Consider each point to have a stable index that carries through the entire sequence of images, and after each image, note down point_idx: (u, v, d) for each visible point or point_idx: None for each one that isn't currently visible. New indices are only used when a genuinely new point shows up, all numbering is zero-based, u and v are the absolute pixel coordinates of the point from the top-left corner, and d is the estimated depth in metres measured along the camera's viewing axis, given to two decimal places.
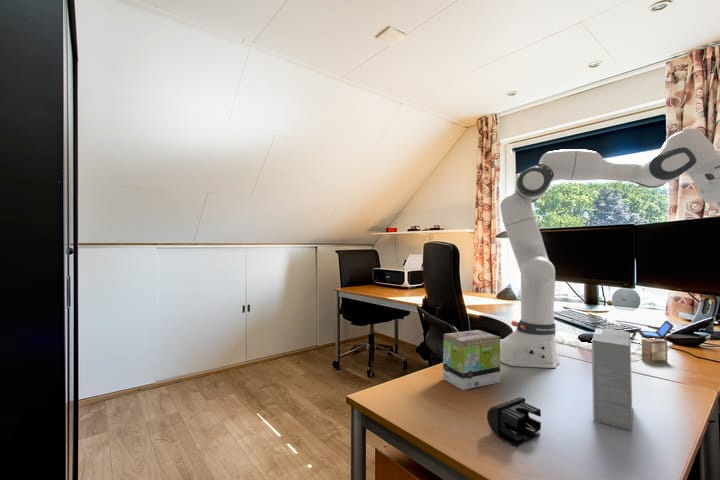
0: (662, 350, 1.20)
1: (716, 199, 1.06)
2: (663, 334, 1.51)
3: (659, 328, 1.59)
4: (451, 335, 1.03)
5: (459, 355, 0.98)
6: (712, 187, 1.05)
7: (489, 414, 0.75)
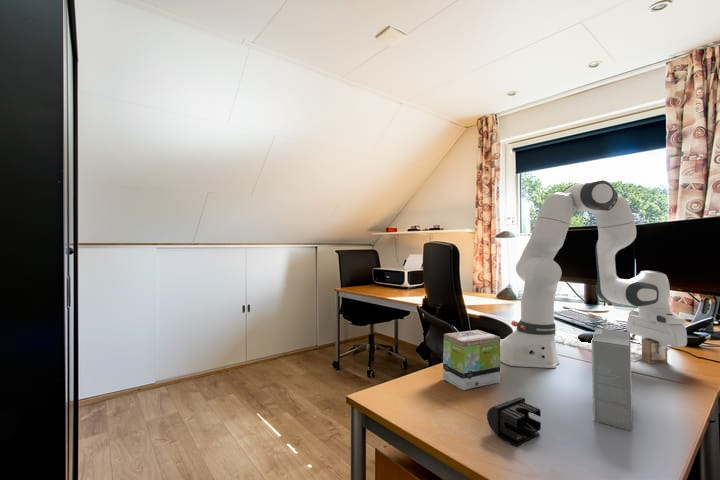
0: None
1: (643, 334, 1.25)
2: None
3: None
4: (451, 335, 1.03)
5: (459, 355, 0.98)
6: (648, 325, 1.23)
7: (489, 414, 0.75)
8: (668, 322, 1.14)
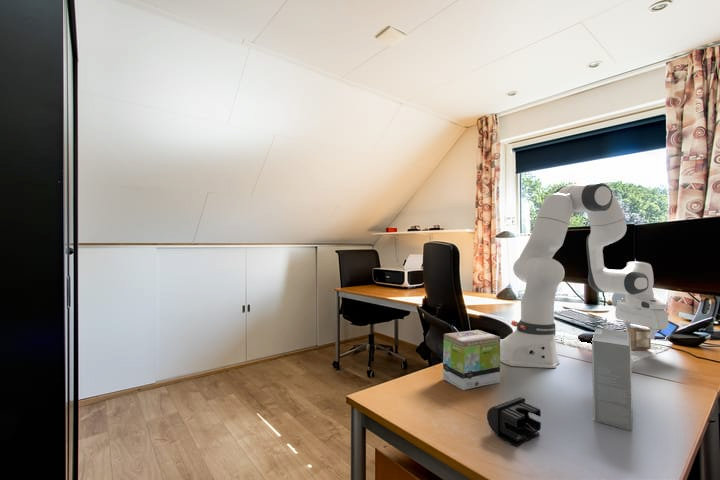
0: (646, 337, 1.32)
1: (629, 320, 1.36)
2: (669, 334, 1.50)
3: None
4: (451, 335, 1.03)
5: (459, 355, 0.98)
6: (634, 311, 1.34)
7: (489, 414, 0.75)
8: (651, 307, 1.25)
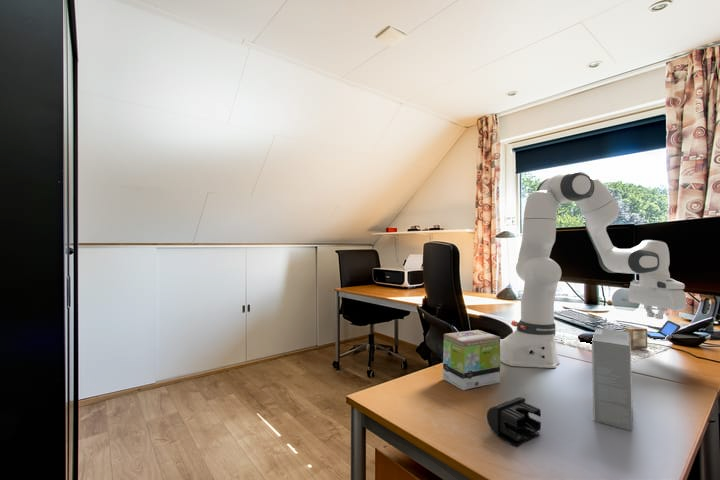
0: (642, 337, 1.33)
1: (643, 302, 1.30)
2: None
3: (661, 328, 1.59)
4: (451, 335, 1.03)
5: (459, 355, 0.98)
6: (648, 292, 1.28)
7: (489, 414, 0.75)
8: (668, 287, 1.19)
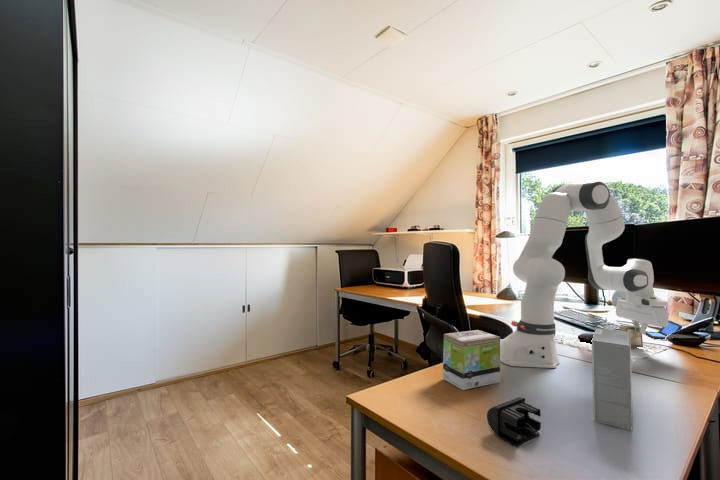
0: (637, 335, 1.35)
1: (629, 317, 1.36)
2: None
3: (662, 328, 1.59)
4: (451, 335, 1.03)
5: (459, 355, 0.98)
6: (634, 308, 1.34)
7: (489, 414, 0.75)
8: (651, 304, 1.25)
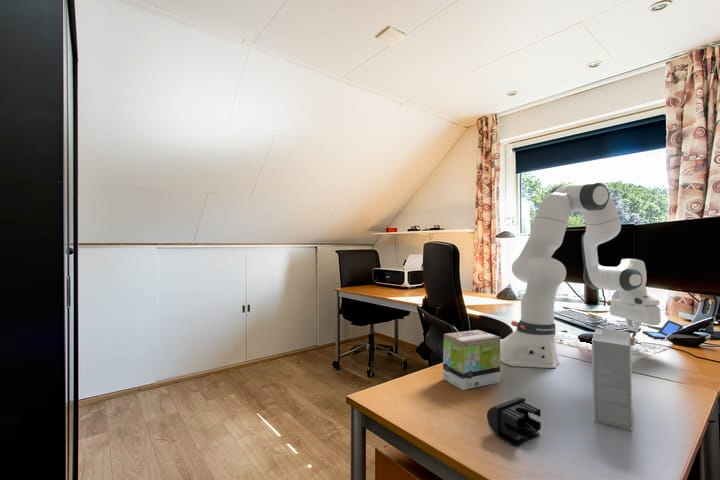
0: None
1: (623, 316, 1.39)
2: None
3: (662, 328, 1.59)
4: (451, 335, 1.03)
5: (459, 355, 0.98)
6: (627, 307, 1.37)
7: (489, 414, 0.75)
8: (644, 303, 1.28)
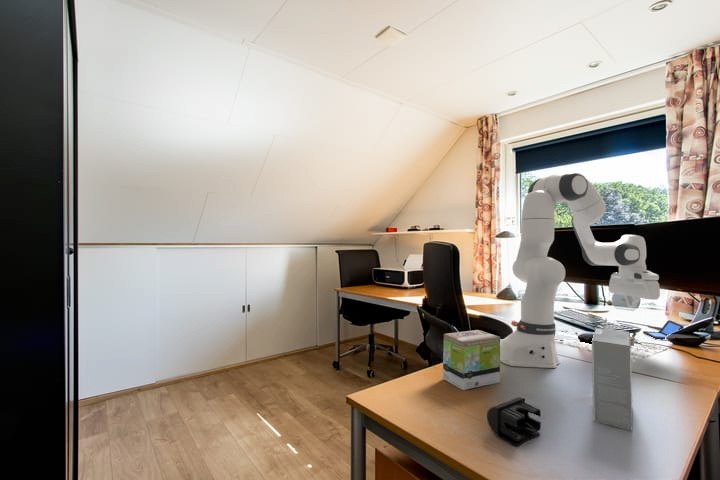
0: None
1: (622, 292, 1.39)
2: None
3: (662, 328, 1.59)
4: (451, 335, 1.03)
5: (459, 355, 0.98)
6: (627, 283, 1.37)
7: (489, 414, 0.75)
8: (643, 278, 1.28)
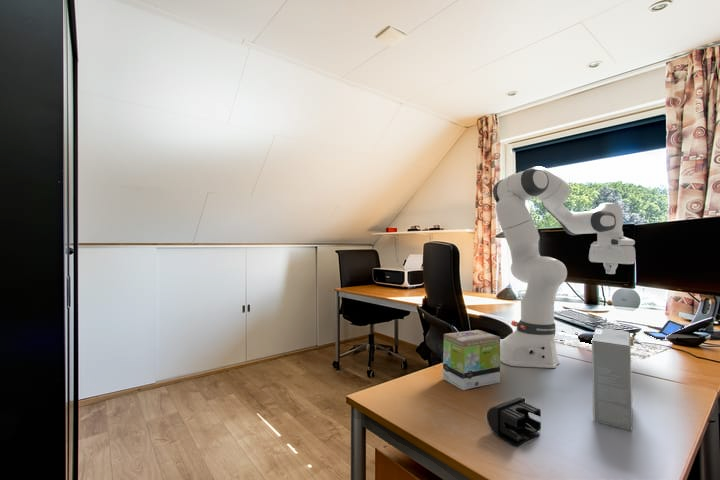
0: None
1: (601, 260, 1.42)
2: None
3: (662, 328, 1.59)
4: (451, 335, 1.03)
5: (459, 355, 0.98)
6: (605, 250, 1.40)
7: (489, 414, 0.75)
8: (619, 243, 1.31)
